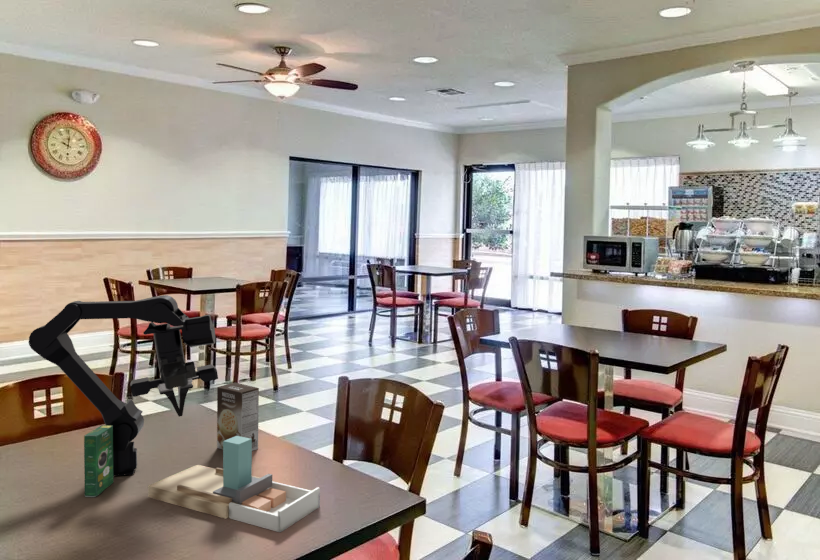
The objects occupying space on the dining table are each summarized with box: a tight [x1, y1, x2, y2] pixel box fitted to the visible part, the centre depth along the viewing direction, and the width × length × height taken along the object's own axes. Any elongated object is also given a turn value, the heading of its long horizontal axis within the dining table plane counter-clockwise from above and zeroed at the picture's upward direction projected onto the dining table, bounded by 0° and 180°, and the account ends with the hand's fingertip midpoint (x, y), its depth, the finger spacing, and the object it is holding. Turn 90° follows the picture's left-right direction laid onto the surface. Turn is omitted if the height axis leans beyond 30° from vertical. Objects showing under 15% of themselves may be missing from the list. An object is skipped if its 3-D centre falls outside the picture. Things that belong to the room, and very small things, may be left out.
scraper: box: [213, 436, 273, 503], centre depth 135 cm, size 7×10×10 cm
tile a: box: [258, 488, 286, 508], centre depth 136 cm, size 4×4×2 cm
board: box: [147, 464, 261, 520], centre depth 140 cm, size 21×14×4 cm, turn 64°
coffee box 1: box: [83, 425, 114, 498], centre depth 141 cm, size 8×3×13 cm, turn 0°
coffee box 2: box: [216, 381, 260, 452], centre depth 168 cm, size 9×6×16 cm
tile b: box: [242, 495, 271, 512], centre depth 131 cm, size 4×4×2 cm
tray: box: [228, 480, 321, 533], centre depth 132 cm, size 12×13×4 cm
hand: (180, 416), depth 153 cm, fingers closed
